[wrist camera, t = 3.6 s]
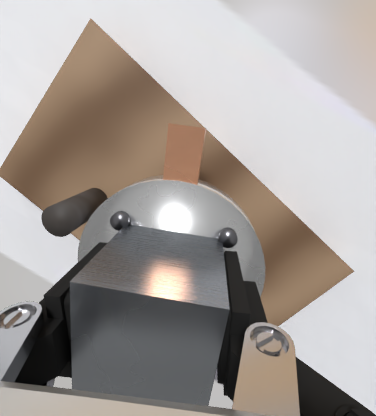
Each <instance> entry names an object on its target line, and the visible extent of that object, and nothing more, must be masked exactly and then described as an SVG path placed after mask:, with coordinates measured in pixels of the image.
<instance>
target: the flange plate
mask: <svg viewBox="0 0 376 416" xmlns="http://www.w3.org/2000/svg"><path fill="white" fill-rule="evenodd" d="M205 134H206V128H201V127H193V126H186V125H179V124H171V123H168V133H167V143H166V153H165V163H164V173H163V175H160V176H154V177H149V178H146V179H143V180H140V181H137V182H135V183H133V184H131V185H129V186H127V187H125V188H124V189H122V190H120V191H118V192H117V193H115V194H114V195H112V196H111V197H109V198H108V199H107V200H105V201H104V202H103V203H102V204H101V205H100V206H99V207H98V208H97V209H96V210H95V211H94V213H93V214H92V215H91V217H90V218H89V220H88V222H87V223H86V225H85V227H84V230H83V232H82V235H81V238H80V243H79V248H78V262H79V261H80V260H81V259H82V258H83V257H84V256H85V255H87V254H88V253H89V252H90V251H91V250H92V249H93V248H94V247H95V246H96V245H97V244H98V243H99V242H104V243H107V244H106V245H105V246H104V247H103V248H102V249H101V250H100V251H99V252H98V253H97V254H96V255H95V256H94V257H93V258H92V259H91V260H90V261H89V263H88V264H87V265H86V266H85V267H84V268H83V269H82V270H81V271H80V272H79V273H78V274H77V275H76V276H75V277H74V278H73V279H72V280H71V281H70V315H71V359H72V389H74V390H82V391H90V392H99V393H107V394H115V395H123V396H132V397H140V398H148V399H155V400H163V401H171V402H179V403H187V404H195V405H202V406H208V405H209V400H210V395H211V391H212V386H213V382H214V378H215V373H216V369H217V364H218V360H219V355H220V351H221V346H222V342H223V337H224V333H225V328H226V324H227V319H228V315H229V310H230V308H229V299H228V289H227V280H226V270H225V261H224V252H225V251H237V254H238V258H239V263H240V267H241V272H242V277H243V281H253V282H255V283H256V285H257V288H258V292H259V295H260V297H261V294H262V291H263V287H264V281H265V261H264V254H263V251H262V247H261V244H260V242H259V239H258V237H257V235H256V233H255V231H254V228H253V226H252V224H251V222H250V220H249V218H248V217H247V215H246V214H245V212H244V211H243V210H242V208H241V207H240V206H239V205H238V204H237V203H236V202H235V201H234V200H233V199H232V198H231V197H230V196H229V195H227V194H226V193H225V192H223V191H222V190H220V189H219V188H217V187H215V186H213V185H211V184H209V183H207V182H204V181H202V180H199V175H200V168H201V161H202V154H203V147H204V141H205Z"/></svg>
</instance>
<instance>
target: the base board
mask: <svg viewBox="0 0 376 416" xmlns="http://www.w3.org/2000/svg"><path fill="white" fill-rule="evenodd" d="M168 123H171V124H179V125H186V126H193V127H201V128H204V127H203V126H202V125H201V124H200V123H199V122H198V121H197V120H196V119H195V118H194V117H193V116H192V115H191V114H190V113H189V112H188V111H187V110H186V109H185V108H183V107H182V106H181V105H180V104H179V103H178V102H177V101H176V100H175V99H174V98H173V97H172V96H171V95H170V94H169V93H168V92H167V91H166V90H165V89H164V88H163V87H162V86H161V85H160V84H158V83H157V82H156V81H155V80H154V79H153V78H152V77H151V76H150V75H149V74H148V73H147V72H146V71H145V70H144V69H143V68H142V67H141V66H140V65H139V64H138V63H137V62H136V61H135V60H133V59H132V58H131V57H130V56H129V55H128V54H127V53H126V52H125V51H124V50H123V49H122V48H121V47H120V46H119V45H118V44H117V43H116V42H115V41H114V40H113V39H112V38H111V37H110V36H108V35H107V34H106V33H105V32H104V31H103V30H102V29H101V28H100V27H99V26H98V25H97V24H96V23H95V22H94V21H93V20H92V19H90V20H89V22H88V24H87V25H86V27H85V29H84V30H83V32H82V34H81V35H80V37H79V39H78V40H77V42H76V44H75V45H74V47H73V49H72V50H71V52H70V54H69V55H68V57H67V59H66V60H65V62H64V64H63V65H62V67H61V68H60V70H59V72H58V73H57V75H56V77H55V78H54V80H53V82H52V83H51V85H50V87H49V88H48V90H47V92H46V93H45V95H44V97H43V98H42V100H41V102H40V103H39V105H38V107H37V108H36V110H35V112H34V113H33V115H32V117H31V118H30V120H29V121H28V123H27V125H26V126H25V128H24V130H23V131H22V133H21V135H20V136H19V138H18V140H17V141H16V143H15V145H14V146H13V148H12V150H11V151H10V153H9V155H8V156H7V158H6V160H5V161H4V163H3V165H2V166H1V168H0V177H2V178H3V179H4V180H5V181H7V182H8V183H9V184H10V185H12V186H13V187H14V188H15V189H17V190H18V191H19V192H20V193H21V194H23V195H24V196H25V197H26V198H28V199H29V200H30V201H31V202H33V203H34V204H35V205H36V206H38V207H39V208H40V209H41V210H43V213H42V223H43V225H44V227H45V229H46V230H47V231H48V232H49V233H51V234H52V235H55V236H59V237H63V236H66V235H68V234H70V233H71V234H72V235H74V236H75V237H76V238H77V239H79V240H80V238H81V235H82V232H83V230H84V227H85V225H86V223H87V222H88V220H89V218H90V217H91V215H92V214H93V213H94V211H95V210H96V209H97V208H98V207H99V206H100V205H101V204H102V203H103V202H104V201H105V200H107V199H108V198H109V197H111V196H112V195H114V194H115V193H117V192H118V191H120V190H122V189H124V188H125V187H127V186H129V185H131V184H133V183H135V182H137V181H140V180H143V179H146V178H149V177H154V176H160V175H163V173H164V163H165V153H166V143H167V133H168ZM199 180H202V181H204V182H207V183H209V184H211V185H213V186H215V187H217V188H219V189H220V190H222V191H223V192H225V193H226V194H227V195H229V196H230V197H231V198H232V199H233V200H234V201H235V202H236V203H237V204H238V205H239V206H240V207H241V208H242V210H243V211H244V212H245V214H246V215H247V217H248V218H249V220H250V222H251V224H252V226H253V228H254V231H255V233H256V235H257V237H258V239H259V242H260V244H261V247H262V251H263V254H264V261H265V281H264V287H263V291H262V294H261V297H260V298H261V302H262V305H263V308H264V312H265V315H266V318H267V321H268V323H270V324H273V325H276V326H279V325H281V324H282V323H283V322H285V321H286V320H288V319H289V318H290V317H292V316H293V315H294V314H296V313H297V312H299V311H300V310H301V309H303V308H304V307H306V306H307V305H308V304H310V303H311V302H312V301H314V300H315V299H317V298H318V297H319V296H321V295H322V294H324V293H325V292H326V291H328V290H329V289H330V288H332V287H333V286H335V285H336V284H337V283H339V282H340V281H342V280H343V279H344V278H346V277H347V276H348V275H350V274H351V273H353V272H354V271H353V270H352V269H351V268H350V267H349V266H348V265H347V264H346V263H345V262H344V261H343V260H342V259H341V258H340V257H339V256H338V255H337V254H336V253H335V252H334V251H332V250H331V249H330V248H329V247H328V246H327V245H326V244H325V243H324V242H323V241H322V240H321V239H320V238H319V237H318V236H317V235H316V234H315V233H314V232H313V231H312V230H311V229H310V228H309V227H307V226H306V225H305V224H304V223H303V222H302V221H301V220H300V219H299V218H298V217H297V216H296V215H295V214H294V213H293V212H292V211H291V210H290V209H289V208H288V207H287V206H286V205H285V204H283V203H282V202H281V201H280V200H279V199H278V198H277V197H276V196H275V195H274V194H273V193H272V192H271V191H270V190H269V189H268V188H267V187H266V186H265V185H264V184H263V183H262V182H261V181H260V180H258V179H257V178H256V177H255V176H254V175H253V174H252V173H251V172H250V171H249V170H248V169H247V168H246V167H245V166H244V165H243V164H242V163H241V162H240V161H239V160H238V159H237V158H236V157H235V156H233V155H232V154H231V153H230V152H229V151H228V150H227V149H226V148H225V147H224V146H223V145H222V144H221V143H220V142H219V141H218V140H217V139H216V138H215V137H214V136H213V135H212V134H211V133H210V132H208V131H207V130H206V134H205V141H204V147H203V154H202V161H201V168H200V175H199Z"/></svg>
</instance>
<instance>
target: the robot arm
mask: <svg viewBox="0 0 376 416" xmlns="http://www.w3.org/2000/svg"><path fill="white" fill-rule="evenodd" d="M106 244H107V243H104V242H99V243H98V244H97V245H96V246H95V247H94V248H93V249H92V250H91V251H90V252H89V253H88V254H87V255H85V256H84V257H83V258H82V259H81V260H80V261H79V262H78V263H77V264H76V265H75V266H74V267H73V268H72V269H71V270H70V271H69V272H68V273H67V274H66V275H64V276H63V277H62V278H61V279H60V280H59V281H58V282H57V283H56V284H55V285H54V286H53V287H52V288H51V289H50V290H49V291H48V292H47V293H46V294H45V295H44V299H43V300H42V301H40V302H39V303H37V302H34V301H26V302H20V303H17V304H14V305H11V306H9V307H6V308H4V309H3V310H1V311H0V416H376V415H375V414H374V413H372V412H371V411H370V410H368V409H367V408H366V407H364V406H363V405H362V404H360V403H359V402H357V401H356V400H355V399H353V398H352V397H350V396H349V395H348V394H346V393H345V392H344V391H342V390H341V389H339V388H338V387H337V386H335V385H334V384H333V383H331V382H330V381H328V380H327V379H326V378H324V377H323V376H322V375H320V374H319V373H317V372H316V371H315V370H313V369H312V368H310V367H309V366H308V365H306V364H305V363H304V362H302V361H301V360H299V359H298V358H297V357H296V356H295V346H294V343H293V340H292V339H291V337H290V336H289V335H288V334H287V333H286V332H285V331H284V330H283V329H281V328H279V327H278V326H276V325H273V324H270V323H268V321H267V318H266V315H265V312H264V308H263V305H262V302H261V298H260V295H259V292H258V288H257V285H256V283H255V282H253V281H243V277H242V272H241V267H240V263H239V258H238V254H237V251H225V252H224V261H225V270H226V280H227V289H228V299H229V308H230V310H229V315H228V319H227V324H226V328H225V333H224V337H223V342H222V346H221V351H220V355H219V360H218V364H217V375H218V383H221V384H223V385H224V395H226V396H228V397H229V398H230V399H231V400H232V401H233V406H232V409H226V408H218V407H210V406H202V405H195V404H187V403H179V402H171V401H163V400H155V399H148V398H140V397H132V396H123V395H115V394H107V393H99V392H90V391H82V390H74V389H65V388H57V387H53V385H54V380H55V378H56V377H57V376H62V377H70V378H72V359H71V315H70V281H71V280H72V279H73V278H74V277H75V276H76V275H77V274H78V273H79V272H80V271H81V270H82V269H83V268H84V267H85V266H86V265H87V264H88V263H89V261H90V260H91V259H92V258H93V257H94V256H95V255H96V254H97V253H98V252H99V251H100V250H101V249H102V248H103V247H104V246H105V245H106Z"/></svg>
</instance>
